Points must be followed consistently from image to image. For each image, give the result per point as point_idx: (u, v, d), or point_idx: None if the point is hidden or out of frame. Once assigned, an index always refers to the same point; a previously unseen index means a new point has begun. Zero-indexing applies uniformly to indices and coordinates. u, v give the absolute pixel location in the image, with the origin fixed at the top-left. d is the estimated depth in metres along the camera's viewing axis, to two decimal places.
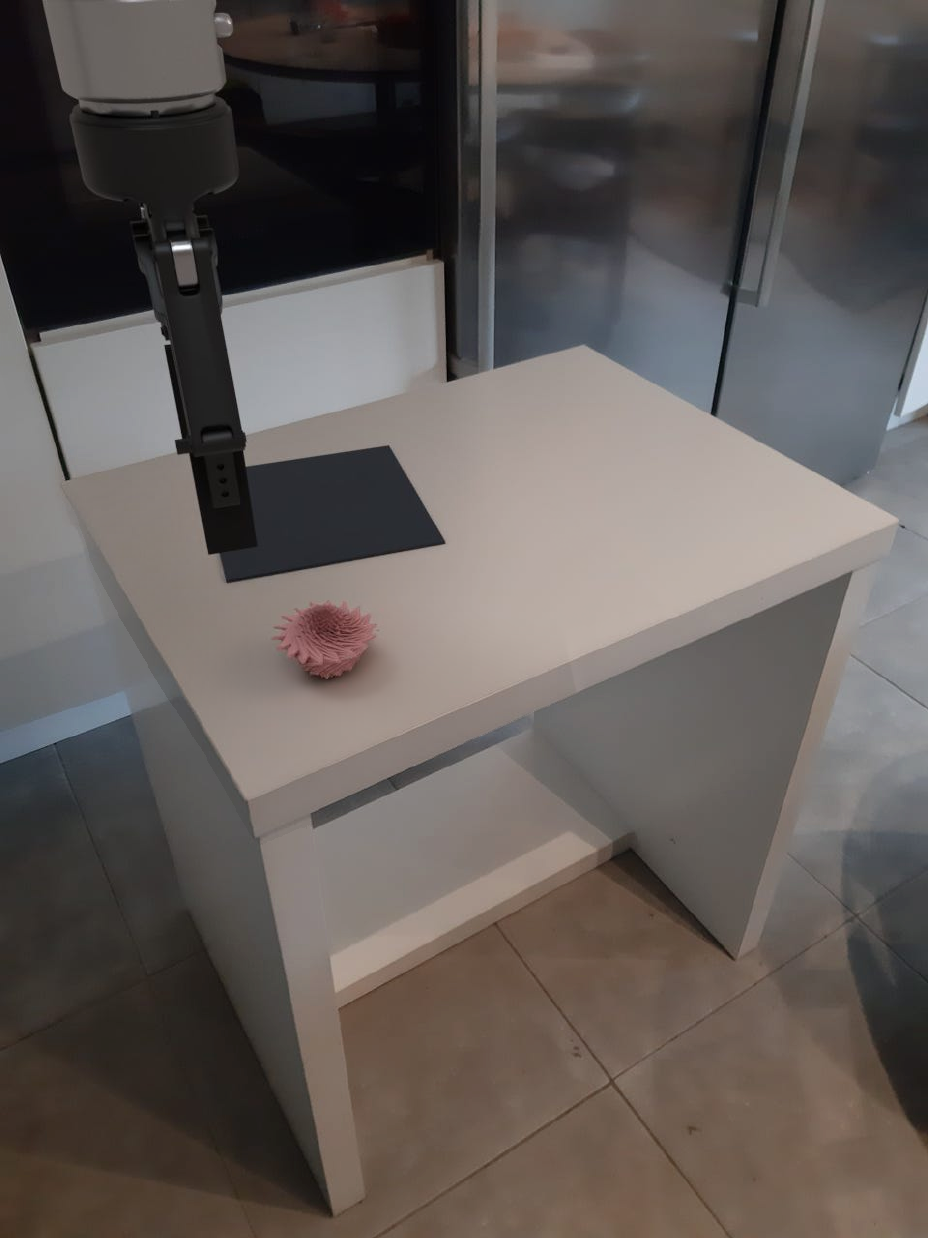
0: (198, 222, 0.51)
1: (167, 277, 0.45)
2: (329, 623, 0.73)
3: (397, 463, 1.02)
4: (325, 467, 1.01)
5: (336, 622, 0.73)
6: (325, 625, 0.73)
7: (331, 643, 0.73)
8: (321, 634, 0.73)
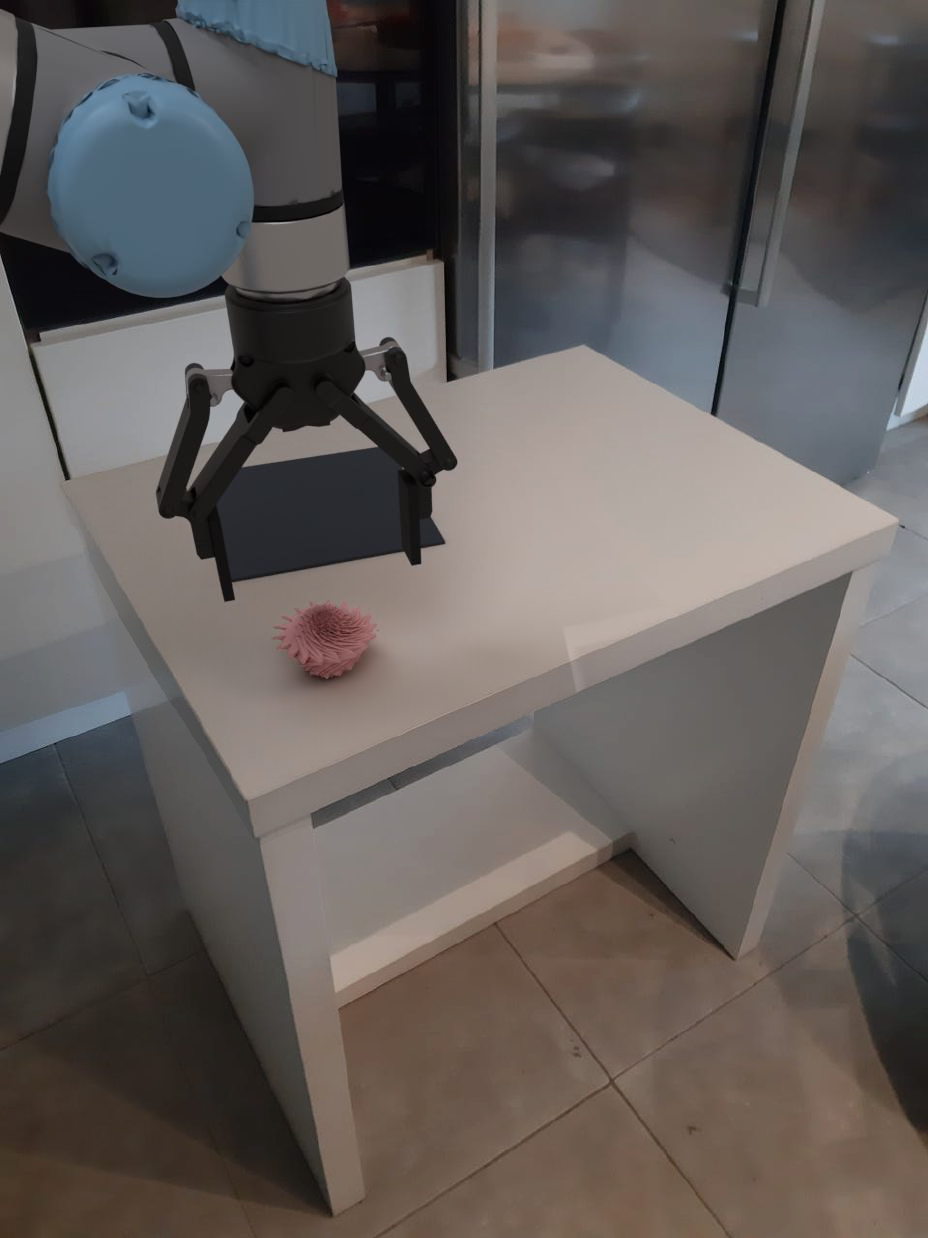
0: None
1: None
2: (329, 623, 0.73)
3: (397, 463, 1.02)
4: (325, 467, 1.01)
5: (336, 622, 0.73)
6: (325, 625, 0.73)
7: (331, 643, 0.73)
8: (321, 634, 0.73)
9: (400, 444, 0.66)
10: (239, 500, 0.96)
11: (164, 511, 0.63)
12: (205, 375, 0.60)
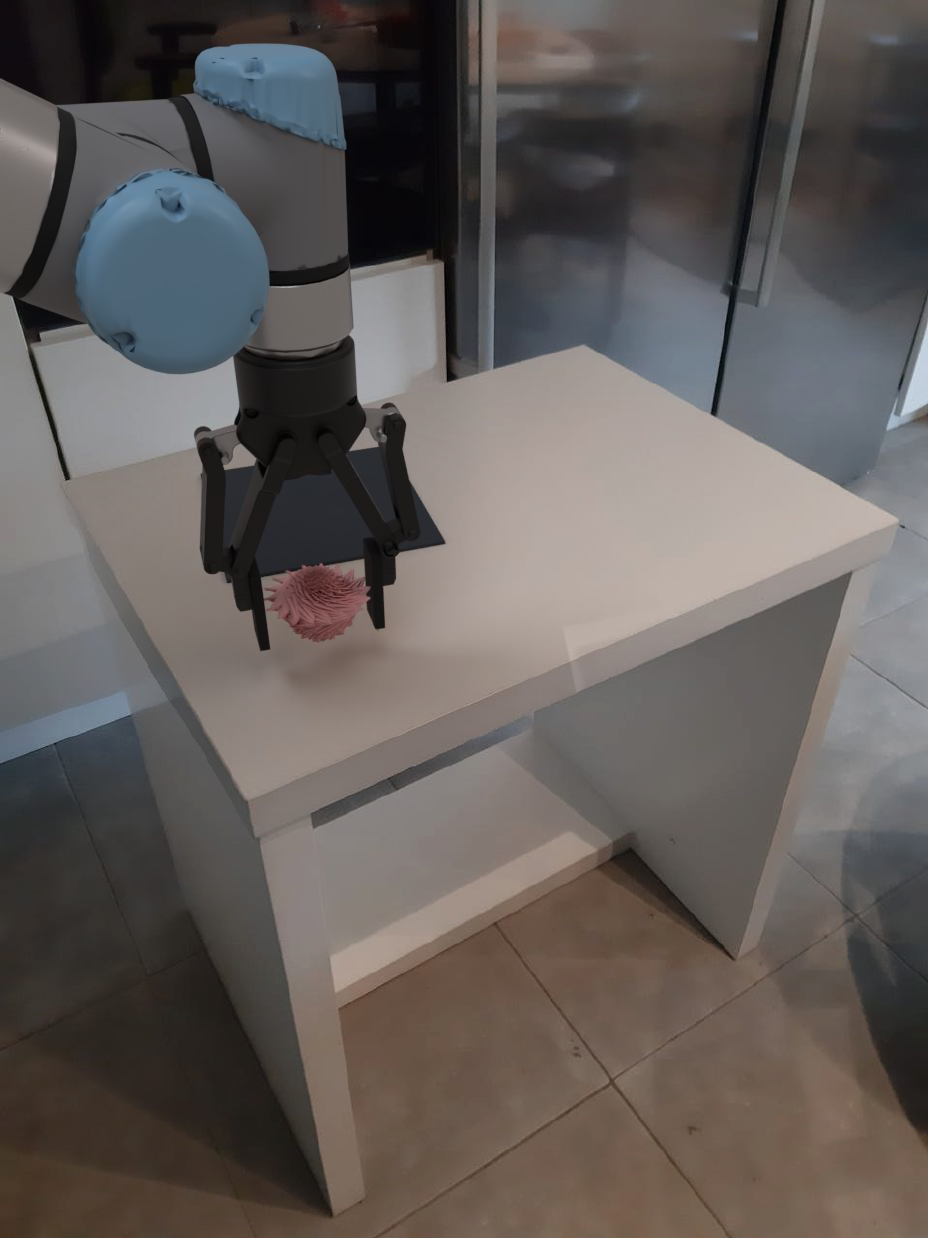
0: None
1: None
2: (321, 584, 0.70)
3: None
4: None
5: (329, 583, 0.71)
6: (317, 586, 0.70)
7: (323, 604, 0.70)
8: (313, 595, 0.70)
9: (376, 510, 0.68)
10: (239, 500, 0.96)
11: (209, 568, 0.66)
12: (211, 437, 0.62)
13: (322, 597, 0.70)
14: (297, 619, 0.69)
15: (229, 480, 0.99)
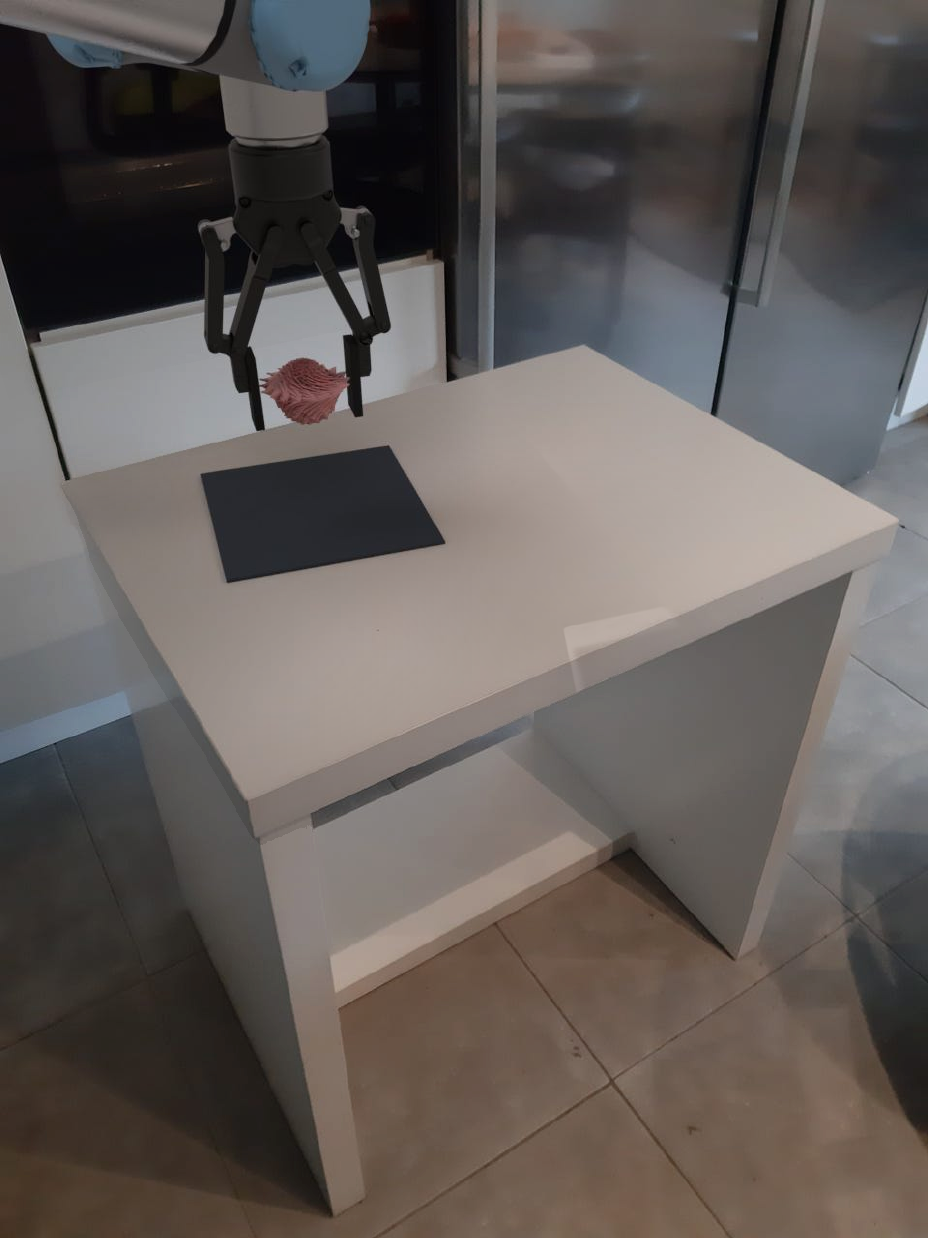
0: None
1: None
2: (307, 369, 0.83)
3: (397, 463, 1.02)
4: (325, 467, 1.01)
5: (314, 370, 0.83)
6: (304, 371, 0.83)
7: (309, 386, 0.83)
8: (300, 378, 0.83)
9: (352, 301, 0.81)
10: (239, 500, 0.96)
11: (212, 347, 0.79)
12: (212, 225, 0.75)
13: (308, 381, 0.83)
14: (287, 397, 0.82)
15: (229, 480, 0.99)
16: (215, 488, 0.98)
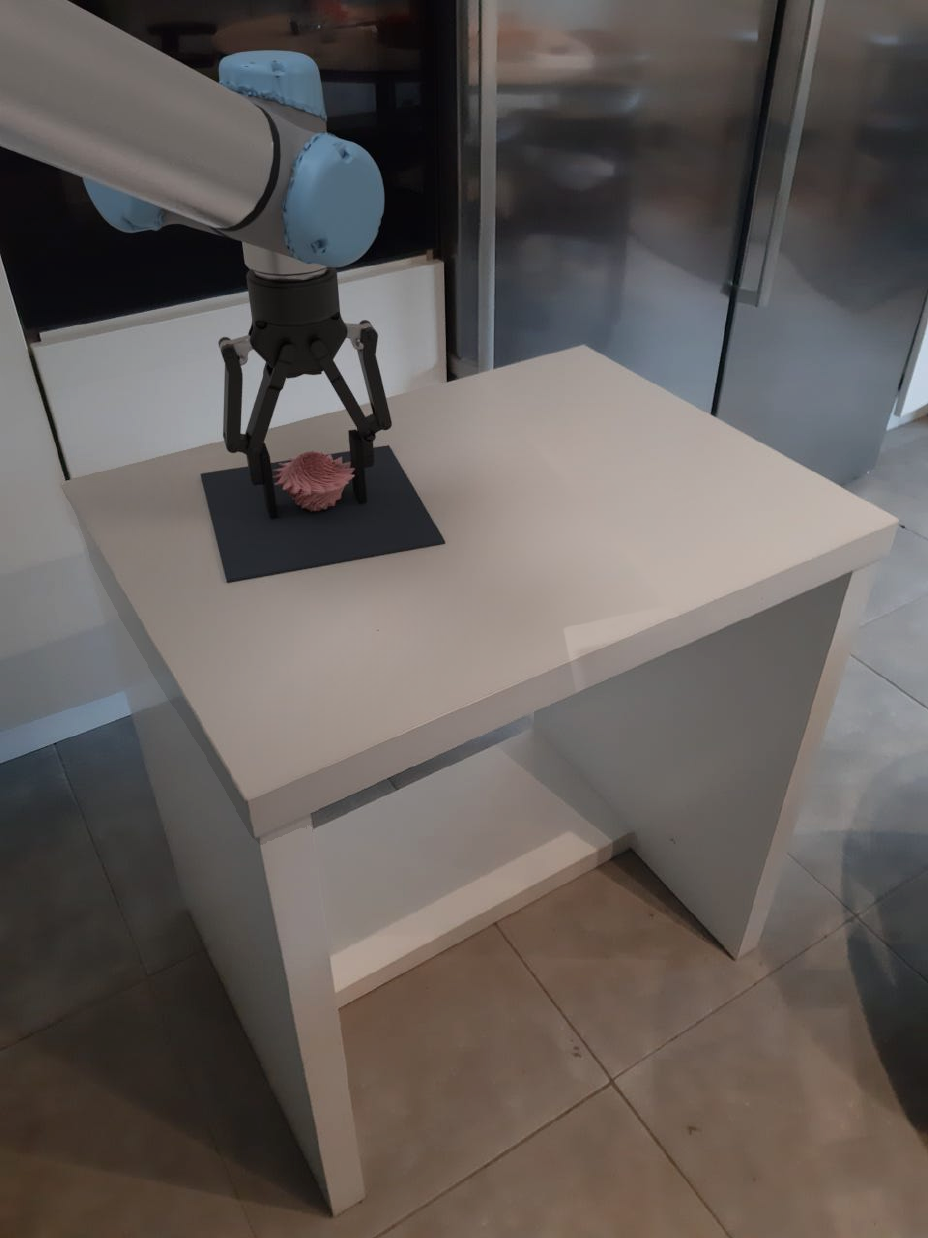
0: None
1: None
2: (316, 463, 0.92)
3: (397, 463, 1.02)
4: None
5: (322, 463, 0.92)
6: (313, 465, 0.92)
7: (318, 479, 0.91)
8: (310, 472, 0.91)
9: (357, 404, 0.89)
10: (239, 500, 0.96)
11: (230, 448, 0.88)
12: (231, 344, 0.83)
13: (317, 474, 0.92)
14: (298, 489, 0.91)
15: (229, 480, 0.99)
16: (215, 488, 0.98)
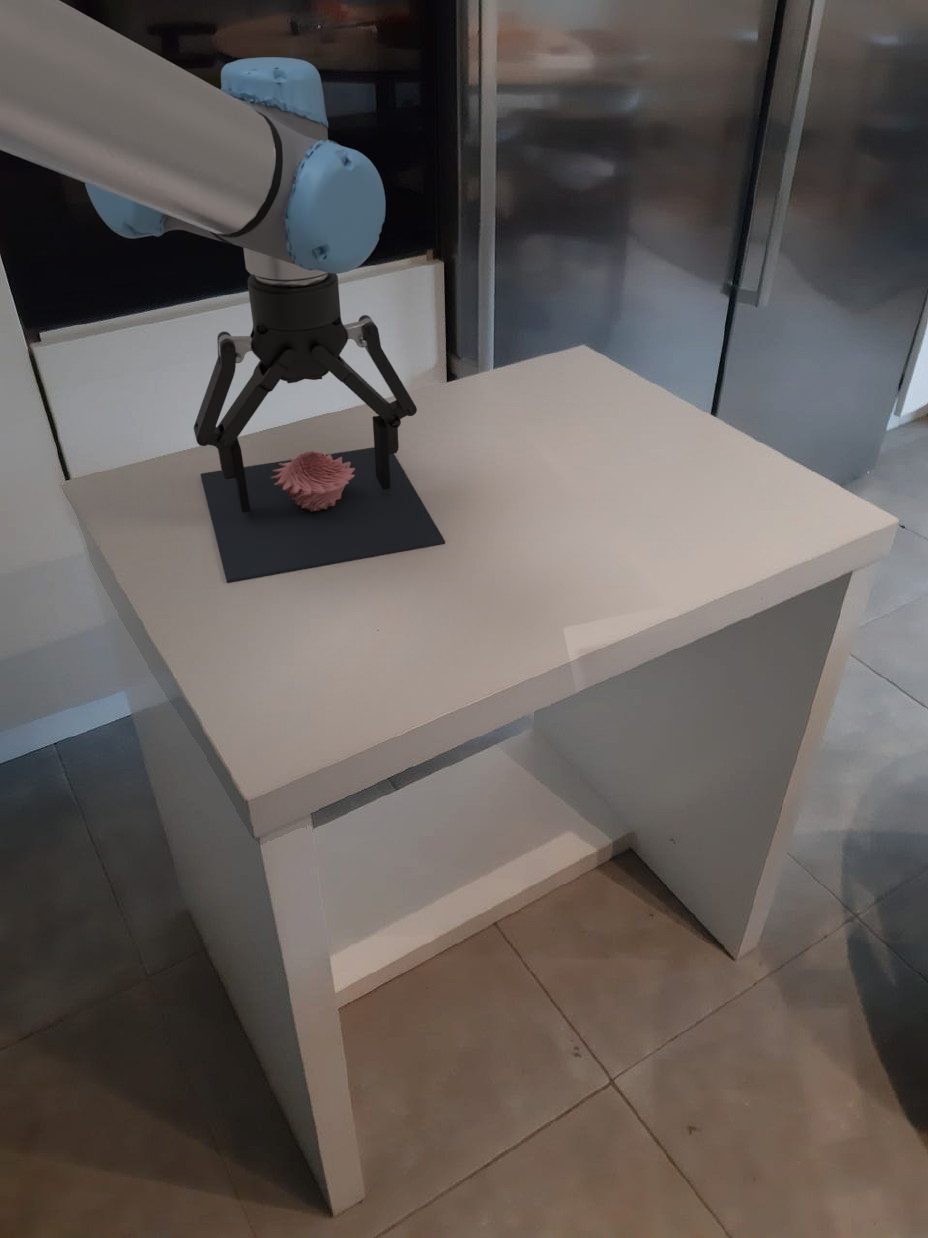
0: None
1: None
2: (316, 463, 0.92)
3: (397, 463, 1.02)
4: None
5: (322, 463, 0.92)
6: (313, 465, 0.92)
7: (318, 479, 0.91)
8: (310, 472, 0.91)
9: (373, 394, 0.89)
10: None
11: (200, 440, 0.86)
12: (232, 340, 0.83)
13: (317, 473, 0.92)
14: (298, 489, 0.91)
15: (229, 480, 0.99)
16: (215, 488, 0.98)
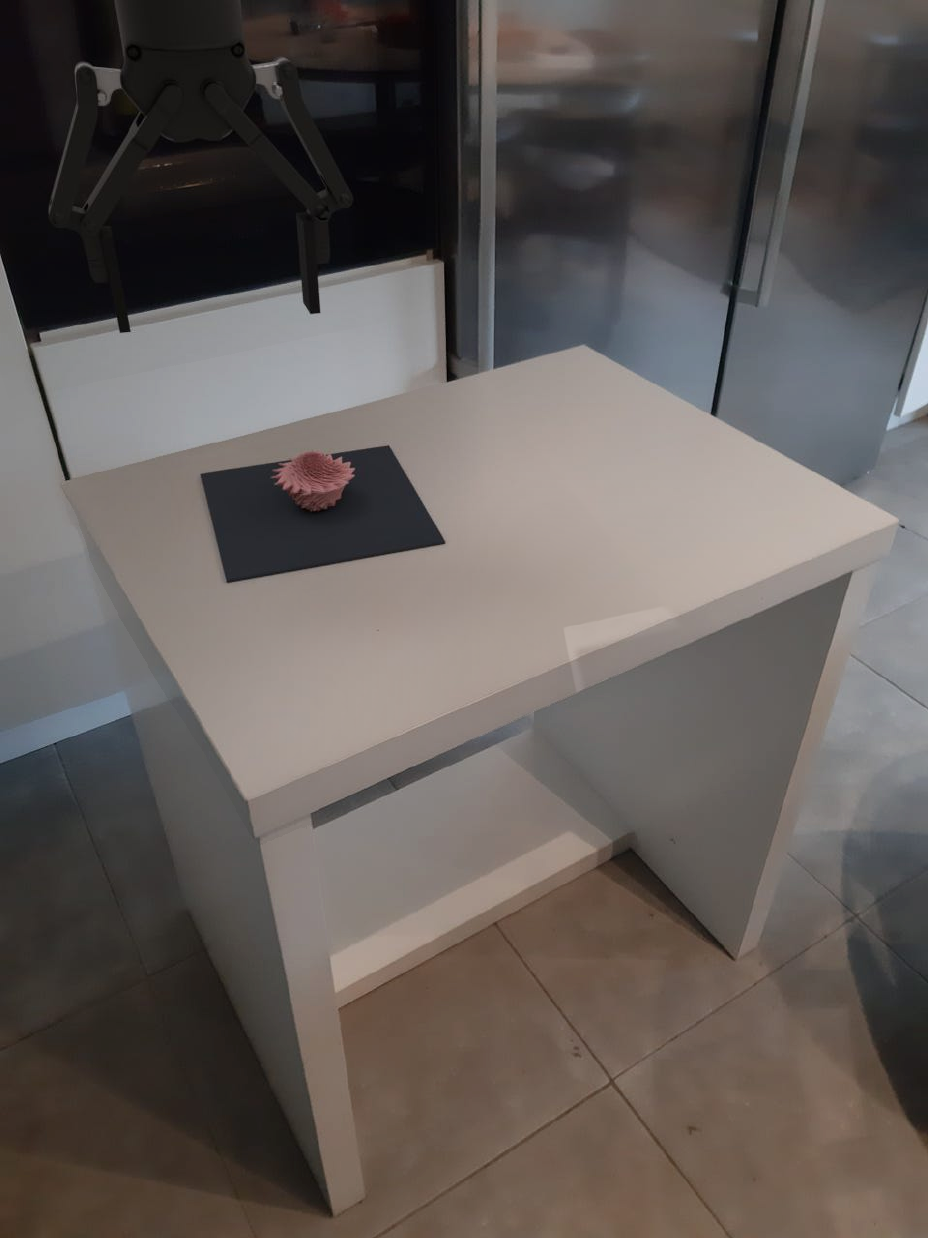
0: None
1: None
2: (316, 463, 0.92)
3: (397, 463, 1.02)
4: None
5: (322, 463, 0.92)
6: (313, 465, 0.92)
7: (318, 479, 0.91)
8: (310, 472, 0.91)
9: (294, 170, 0.67)
10: (239, 500, 0.96)
11: (54, 218, 0.64)
12: (93, 68, 0.60)
13: (317, 473, 0.92)
14: (298, 489, 0.91)
15: (229, 480, 0.99)
16: (215, 488, 0.98)
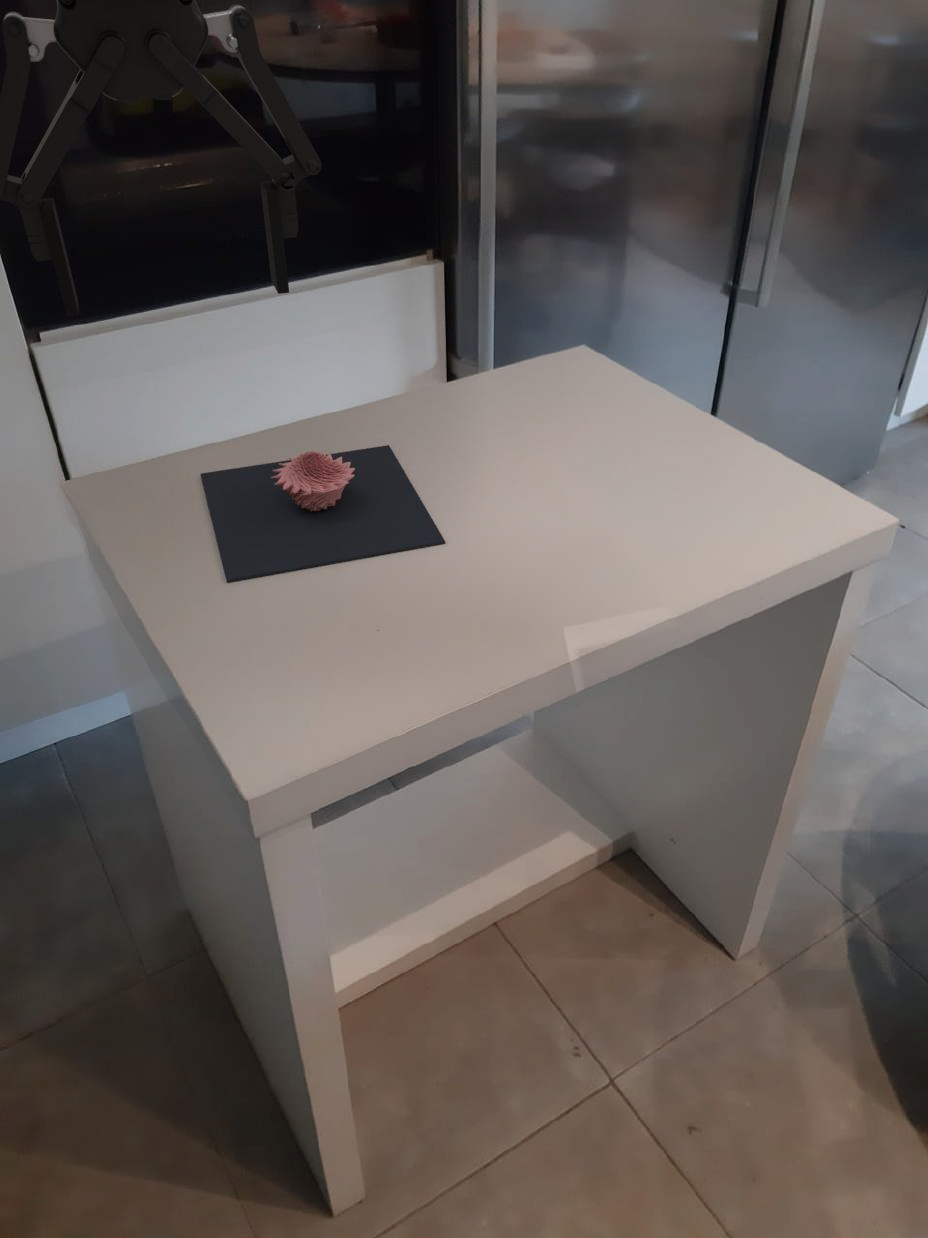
0: None
1: None
2: (316, 463, 0.92)
3: (397, 463, 1.02)
4: None
5: (322, 463, 0.92)
6: (313, 465, 0.92)
7: (318, 479, 0.91)
8: (310, 472, 0.91)
9: (254, 133, 0.60)
10: (239, 500, 0.96)
11: None
12: (23, 19, 0.54)
13: (317, 473, 0.92)
14: (298, 489, 0.91)
15: (229, 480, 0.99)
16: (215, 488, 0.98)
